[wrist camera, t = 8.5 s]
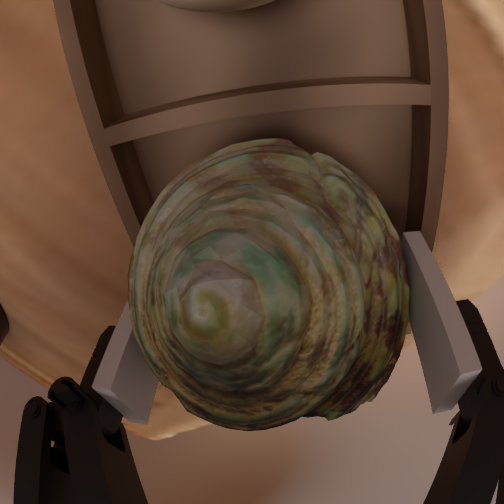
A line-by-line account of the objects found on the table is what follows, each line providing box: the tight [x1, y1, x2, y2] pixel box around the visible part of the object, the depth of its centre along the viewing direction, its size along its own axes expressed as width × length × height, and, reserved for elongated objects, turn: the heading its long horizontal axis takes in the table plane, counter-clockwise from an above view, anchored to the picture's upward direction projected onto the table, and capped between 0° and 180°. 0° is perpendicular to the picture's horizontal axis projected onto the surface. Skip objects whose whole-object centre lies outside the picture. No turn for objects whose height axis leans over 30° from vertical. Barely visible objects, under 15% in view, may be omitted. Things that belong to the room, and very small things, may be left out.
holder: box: [53, 0, 449, 334], centre depth 11 cm, size 14×27×3 cm, turn 10°
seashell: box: [128, 138, 410, 431], centre depth 11 cm, size 11×11×10 cm
